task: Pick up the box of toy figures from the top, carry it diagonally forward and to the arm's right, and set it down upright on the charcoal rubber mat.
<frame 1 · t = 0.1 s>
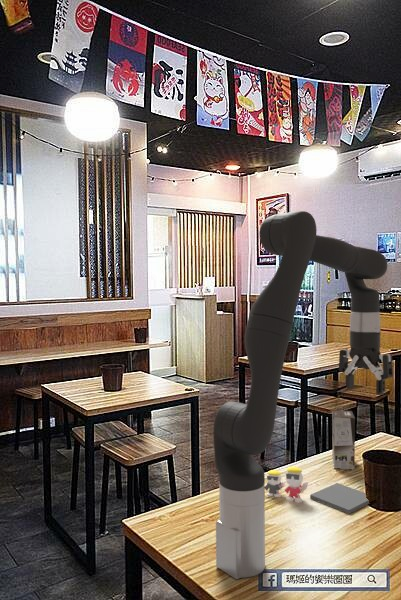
hand: (364, 391, 132), 29 cm above the table, tool pointing down, fingers open, 8 cm apart
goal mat: (342, 499, 135), on the table
coffee box: (343, 464, 160), on the table
toy figures: (285, 497, 137), on the table
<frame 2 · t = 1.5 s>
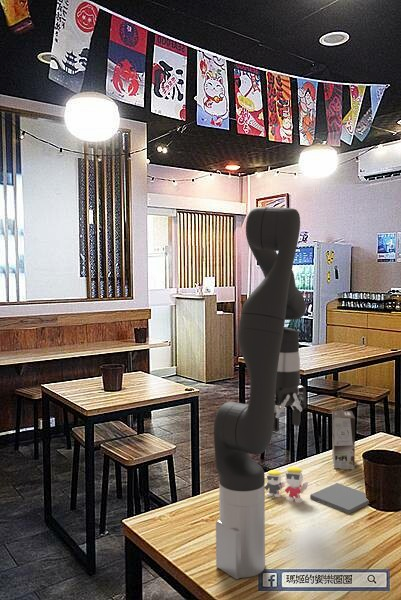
hand: (285, 428, 136), 19 cm above the table, tool pointing down, fingers open, 8 cm apart
nothing on the table moved.
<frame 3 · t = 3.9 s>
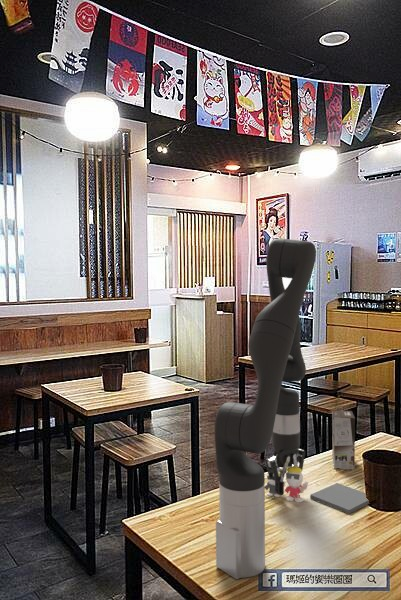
hand: (286, 491, 137), 1 cm above the table, tool pointing down, fingers closed on toy figures, 4 cm apart
toy figures: (286, 497, 137), on the table, touching gripper
everything else where it was.
when the fingers open (4 cm above the table, at t = 10.3 s): toy figures drops 1 cm, resting on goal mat.
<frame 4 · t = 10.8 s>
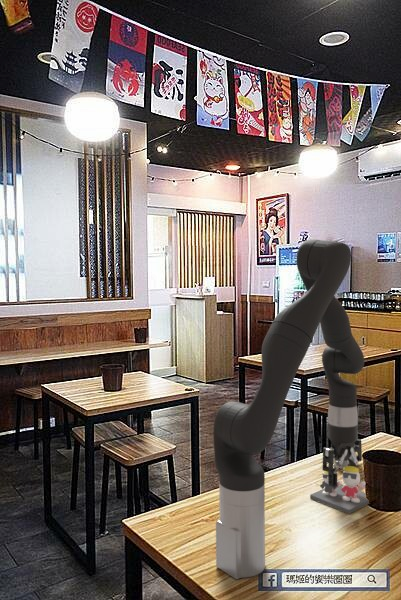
hand: (342, 482, 134), 5 cm above the table, tool pointing down, fingers open, 8 cm apart
toy figures: (342, 497, 134), point 1 cm above the table, touching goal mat
everything else where it was.
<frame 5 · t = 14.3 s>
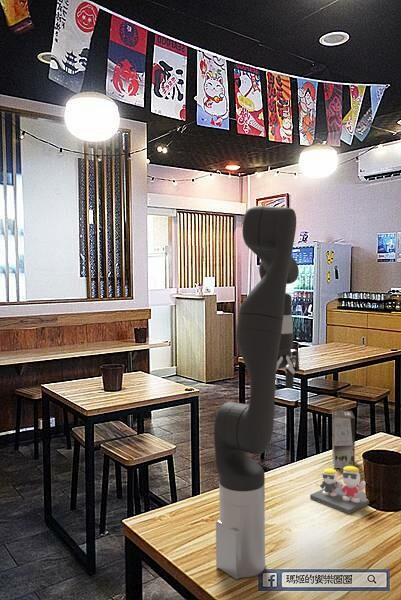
hand: (279, 389, 140), 28 cm above the table, tool pointing down, fingers open, 8 cm apart
nothing on the table moved.
at the end: toy figures inside the target area on the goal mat (0.4 cm from its centre), point 0.8 cm above the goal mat's base; toy figures tilted 0°; the gripper is holding nothing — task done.
